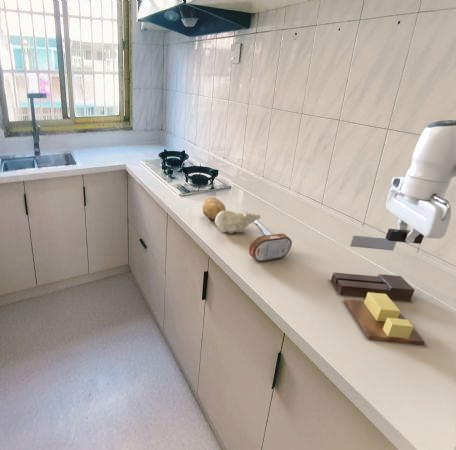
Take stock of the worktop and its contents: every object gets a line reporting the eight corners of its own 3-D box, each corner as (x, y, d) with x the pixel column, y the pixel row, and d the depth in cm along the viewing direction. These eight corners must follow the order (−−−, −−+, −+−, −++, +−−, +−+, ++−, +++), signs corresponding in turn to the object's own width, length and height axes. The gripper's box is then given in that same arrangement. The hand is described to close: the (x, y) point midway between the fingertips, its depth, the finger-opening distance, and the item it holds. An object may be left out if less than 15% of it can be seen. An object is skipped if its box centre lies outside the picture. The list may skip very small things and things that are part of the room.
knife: (412, 250, 91) (420, 231, 88) (416, 254, 89) (425, 234, 87) (348, 244, 92) (355, 225, 90) (351, 247, 90) (358, 228, 88)
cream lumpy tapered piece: (205, 234, 131) (229, 223, 118) (205, 217, 133) (228, 204, 121) (237, 242, 137) (263, 231, 124) (236, 225, 139) (262, 213, 127)
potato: (205, 225, 134) (207, 206, 131) (198, 212, 147) (199, 194, 144) (229, 225, 135) (231, 206, 132) (220, 212, 148) (222, 195, 145)
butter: (381, 304, 88) (385, 293, 87) (396, 322, 82) (400, 311, 80) (363, 303, 89) (367, 292, 87) (376, 320, 82) (381, 309, 81)
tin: (284, 253, 115) (289, 231, 111) (290, 257, 112) (295, 235, 109) (246, 259, 110) (250, 236, 107) (252, 264, 107) (256, 240, 104)
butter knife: (266, 235, 126) (273, 235, 126) (245, 211, 148) (251, 211, 148) (265, 236, 126) (273, 236, 127) (245, 212, 148) (251, 212, 148)
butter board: (391, 307, 89) (392, 303, 89) (423, 345, 77) (425, 341, 76) (344, 302, 90) (345, 299, 90) (368, 339, 78) (369, 335, 77)
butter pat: (402, 331, 79) (407, 319, 78) (408, 338, 77) (413, 326, 75) (382, 329, 80) (387, 317, 78) (387, 336, 77) (392, 324, 76)
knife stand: (396, 287, 98) (400, 275, 97) (410, 301, 92) (415, 289, 90) (330, 280, 100) (333, 269, 99) (339, 294, 94) (343, 283, 92)
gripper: (467, 203, 73) (443, 259, 79) (413, 178, 92) (396, 224, 98) (436, 201, 74) (414, 256, 80) (389, 176, 93) (373, 222, 98)
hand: (404, 238), depth 89 cm, fingers closed on knife, 2 cm apart
